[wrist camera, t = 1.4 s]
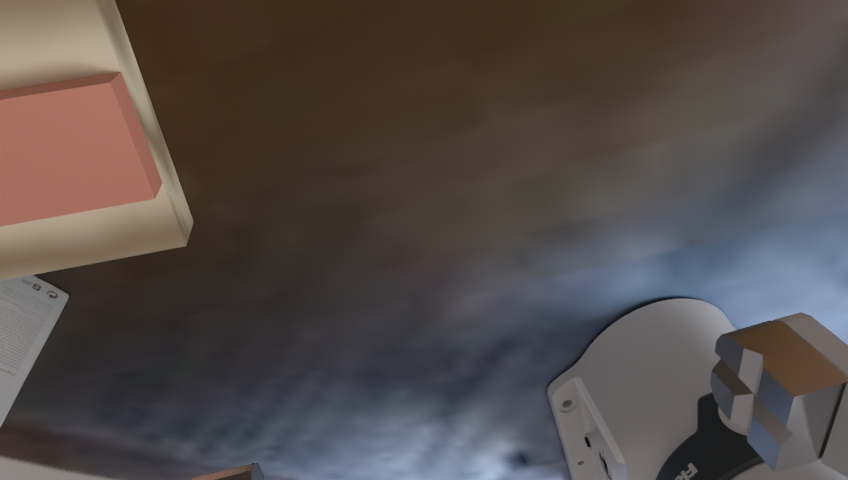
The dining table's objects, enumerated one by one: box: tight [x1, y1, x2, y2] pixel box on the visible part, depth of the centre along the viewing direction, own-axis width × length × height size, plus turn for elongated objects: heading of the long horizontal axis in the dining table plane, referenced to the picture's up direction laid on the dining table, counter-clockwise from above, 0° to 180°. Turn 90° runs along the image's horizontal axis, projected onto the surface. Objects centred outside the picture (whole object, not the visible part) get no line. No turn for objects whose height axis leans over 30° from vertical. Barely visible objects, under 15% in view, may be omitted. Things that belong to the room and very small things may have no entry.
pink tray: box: [0, 72, 162, 227], centre depth 29 cm, size 9×6×2 cm, turn 97°
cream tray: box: [0, 0, 194, 281], centre depth 31 cm, size 14×12×3 cm
